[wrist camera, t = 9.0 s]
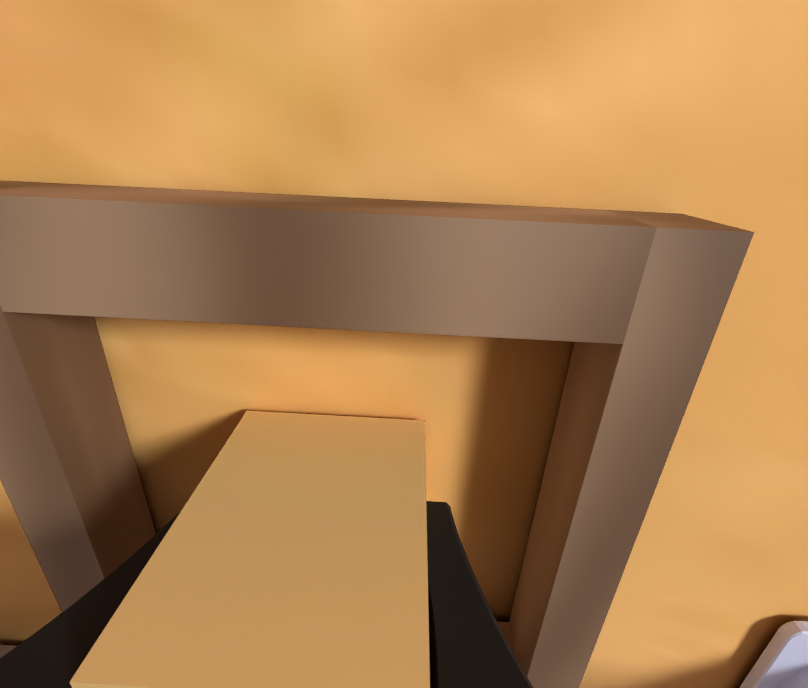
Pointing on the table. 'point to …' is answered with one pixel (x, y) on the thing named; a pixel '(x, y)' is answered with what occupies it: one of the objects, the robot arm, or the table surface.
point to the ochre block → (285, 566)
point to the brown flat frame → (368, 311)
